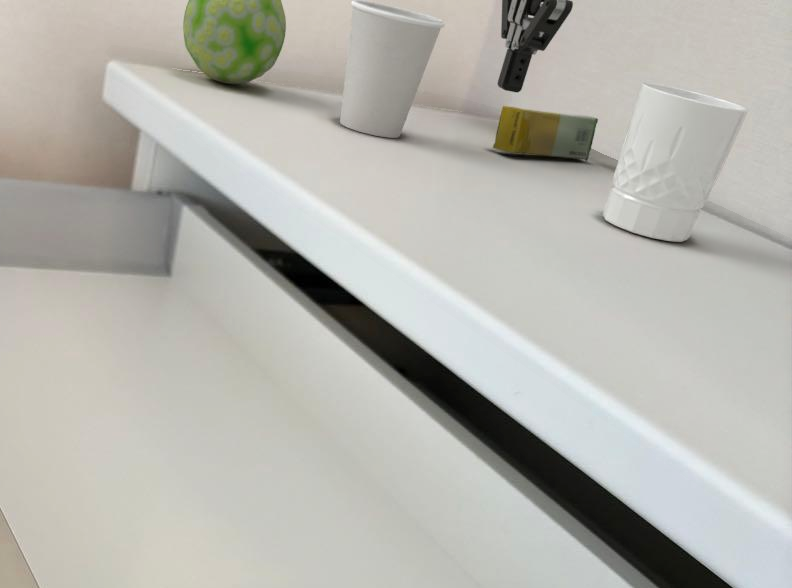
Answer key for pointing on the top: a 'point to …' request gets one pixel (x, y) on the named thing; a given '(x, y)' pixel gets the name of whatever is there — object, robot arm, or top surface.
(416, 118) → the top surface
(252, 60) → the decorative ball
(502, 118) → the medication box
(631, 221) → the white cup
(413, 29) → the dixie cup
